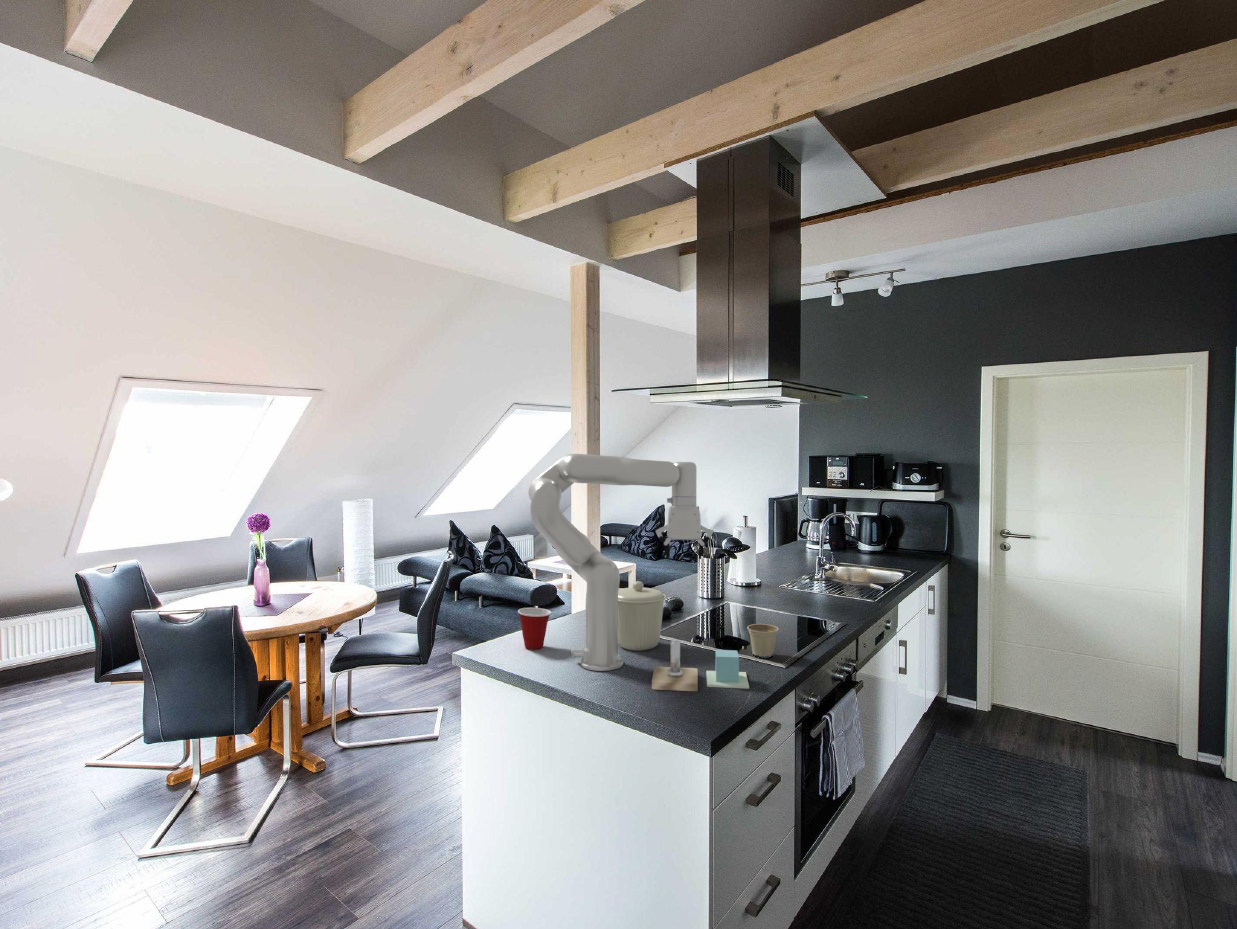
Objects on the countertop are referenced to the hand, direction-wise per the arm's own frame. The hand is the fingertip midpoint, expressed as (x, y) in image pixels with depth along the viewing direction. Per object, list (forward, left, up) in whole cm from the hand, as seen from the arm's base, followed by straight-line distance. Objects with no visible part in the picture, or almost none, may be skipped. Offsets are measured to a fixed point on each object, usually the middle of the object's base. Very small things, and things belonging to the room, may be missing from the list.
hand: (684, 558), depth 191 cm
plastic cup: (-48, +4, -31) cm, 57 cm away
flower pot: (+24, +4, -31) cm, 39 cm away
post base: (-2, -22, -30) cm, 37 cm away
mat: (+12, -19, -30) cm, 38 cm away
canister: (-15, +9, -31) cm, 35 cm away
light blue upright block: (+12, -19, -30) cm, 37 cm away
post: (-2, -22, -28) cm, 36 cm away
